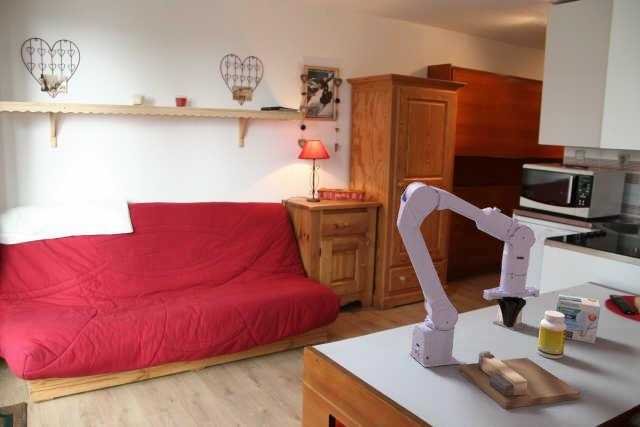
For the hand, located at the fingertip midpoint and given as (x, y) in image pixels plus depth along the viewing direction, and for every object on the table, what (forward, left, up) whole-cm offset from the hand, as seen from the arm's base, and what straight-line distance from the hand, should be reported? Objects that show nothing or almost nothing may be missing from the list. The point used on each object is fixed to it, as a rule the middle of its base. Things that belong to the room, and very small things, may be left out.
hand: (508, 325), depth 125 cm
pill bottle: (+15, +1, -10) cm, 18 cm away
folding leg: (-9, -10, -8) cm, 16 cm away
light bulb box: (+31, +10, -10) cm, 34 cm away
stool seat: (-4, -10, -9) cm, 15 cm away
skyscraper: (+18, +22, -10) cm, 30 cm away
